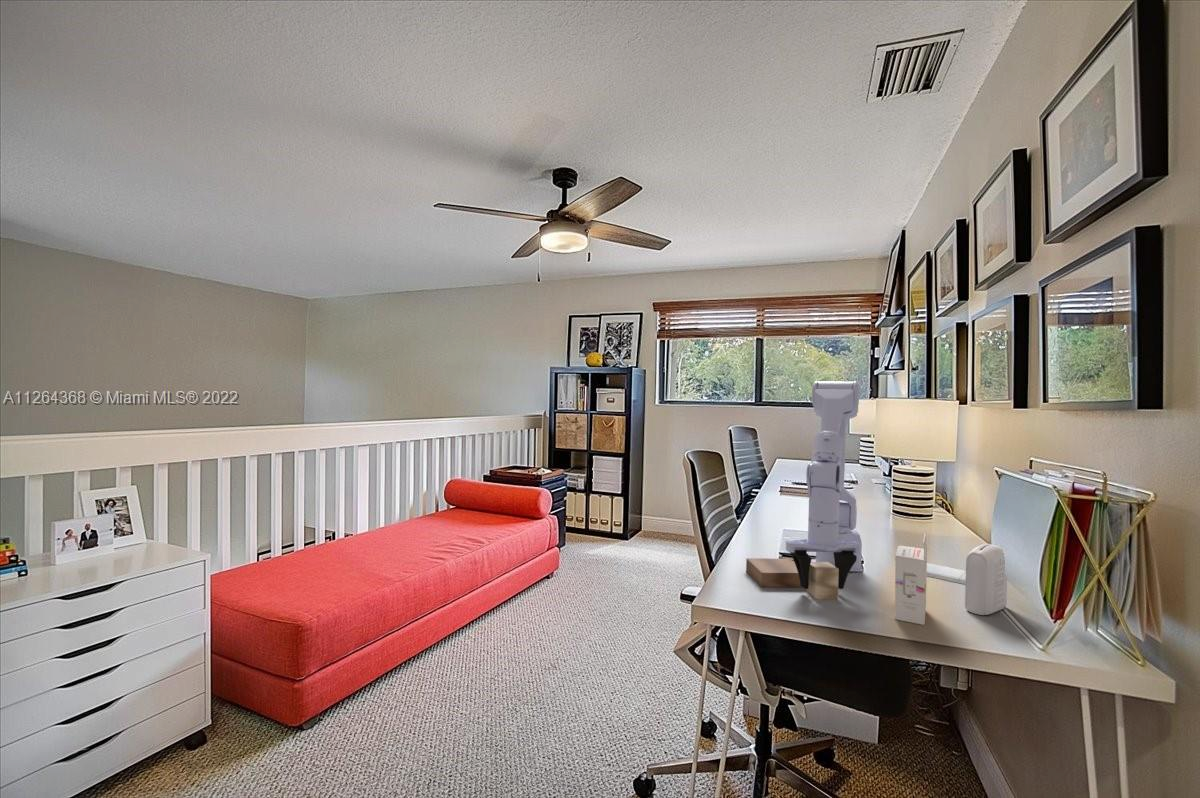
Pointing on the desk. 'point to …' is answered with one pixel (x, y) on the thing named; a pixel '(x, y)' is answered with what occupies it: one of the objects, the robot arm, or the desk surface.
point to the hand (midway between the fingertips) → (821, 587)
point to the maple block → (823, 580)
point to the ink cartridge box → (911, 583)
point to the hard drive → (946, 573)
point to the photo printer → (985, 580)
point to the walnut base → (773, 572)
